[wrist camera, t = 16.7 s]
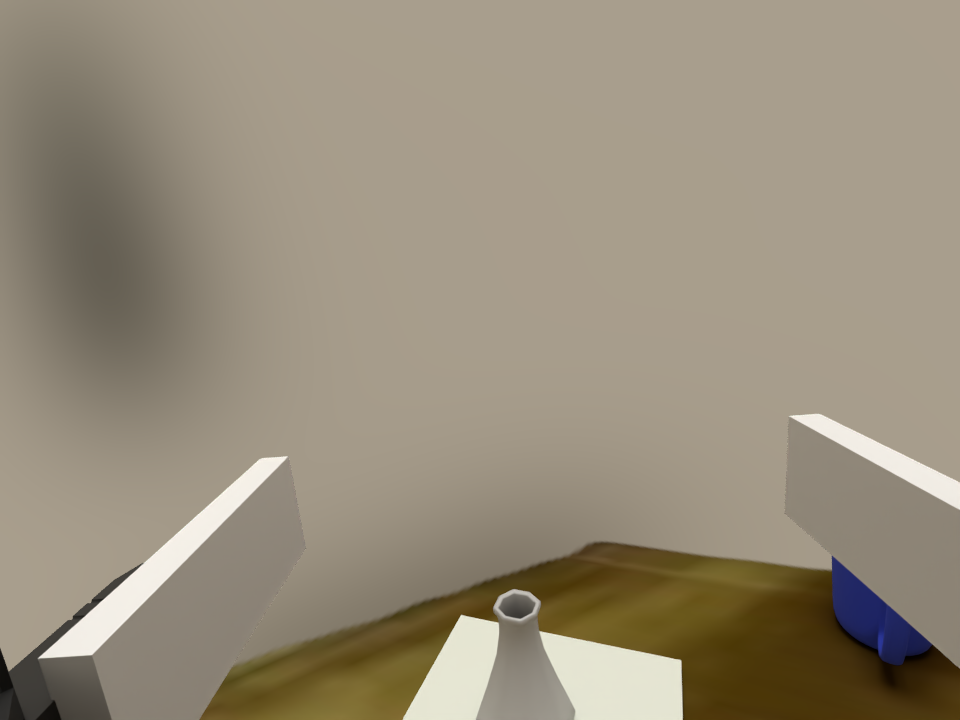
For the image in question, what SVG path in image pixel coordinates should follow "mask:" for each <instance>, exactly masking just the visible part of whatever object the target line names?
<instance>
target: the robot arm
mask: <svg viewBox="0 0 960 720" xmlns="http://www.w3.org/2000/svg"><path fill="white" fill-rule="evenodd" d="M787 449H788V450H787V472H786V495H785V514H786V515H787V516H788V517H789V518H790V519H792V520H793V521H794V522H795V523H796V524H797V525H798V526H799V527H801V528H802V529H803V530H804V531H805V532H806V533H807V534H809V535H810V536H811V537H812V538H813V539H814V540H815V541H817V542H818V543H819V544H820V545H821V546H822V547H823V548H824V549H825V550H827V551H828V552H829V553H830V554H831V555H832V556H833V557H834V558H836V559H837V560H838V561H839V562H840V563H841V564H842V565H843V566H845V567H846V568H847V569H848V570H849V571H850V572H851V573H853V574H854V575H855V576H856V577H857V578H858V579H859V580H860V581H862V582H863V583H864V584H865V585H866V586H867V587H868V588H869V589H871V590H872V591H873V592H874V593H875V594H876V595H877V596H878V597H880V598H881V599H882V600H883V601H884V602H885V603H886V604H888V605H889V606H890V607H891V608H892V609H893V610H894V611H895V612H897V613H898V614H899V615H900V616H901V617H902V618H903V619H904V620H906V621H907V622H908V623H909V624H910V625H911V626H912V627H913V628H915V629H916V630H917V631H918V632H919V633H920V634H921V635H922V636H924V637H925V638H926V639H927V640H928V641H929V642H930V643H932V644H933V645H934V646H935V647H936V648H937V649H938V650H939V651H941V652H942V653H943V654H944V655H945V656H946V657H947V658H948V659H950V660H951V661H952V662H953V663H954V664H955V665H956V666H957V667H959V668H960V482H957V481H955V480H954V479H951V478H949V477H947V476H945V475H943V474H941V473H939V472H937V471H935V470H933V469H931V468H929V467H927V466H925V465H923V464H921V463H919V462H917V461H915V460H913V459H911V458H909V457H907V456H905V455H903V454H900V453H898V452H896V451H894V450H892V449H890V448H888V447H886V446H884V445H882V444H880V443H878V442H876V441H874V440H872V439H870V438H868V437H866V436H864V435H862V434H860V433H858V432H856V431H854V430H852V429H849V428H847V427H845V426H843V425H841V424H839V423H837V422H835V421H833V420H831V419H829V418H827V417H825V416H823V415H821V414H810V415H798V416H789V424H788V448H787ZM305 549H306V546H305V541H304V536H303V530H302V525H301V520H300V515H299V509H298V504H297V498H296V493H295V489H294V483H293V477H292V472H291V467H290V462H289V457H288V456H287V457H274V458H262V459H260V460H259V461H258V462H256V463H255V464H254V465H253V466H252V467H251V468H250V469H248V470H247V472H245V473H244V474H243V475H242V476H241V477H240V478H238V479H237V480H236V481H235V482H234V483H233V484H232V485H231V486H230V487H228V488H227V489H226V490H225V491H224V492H223V493H222V494H221V495H220V496H218V497H217V498H216V499H215V500H214V501H213V502H212V503H211V504H210V505H208V506H207V507H206V508H205V509H204V510H203V511H202V512H201V513H199V515H197V516H196V517H195V518H194V519H193V520H192V521H191V522H189V523H188V524H187V525H186V526H185V527H184V528H183V529H182V530H180V531H179V533H177V534H176V535H175V536H174V537H173V538H172V539H170V540H169V541H168V542H167V543H166V544H165V545H164V546H163V547H162V548H161V549H159V550H158V551H157V552H156V553H155V554H154V555H153V556H152V557H151V558H150V559H148V560H147V561H146V562H145V563H142V564H140V565H139V566H137V567H135V568H134V569H132V570H130V571H129V572H127V573H125V574H124V575H122V576H120V577H119V578H117V579H115V580H114V581H113V582H111V583H110V584H109V585H108V586H107V587H106V588H105V589H103V590H102V591H101V592H100V593H99V594H98V595H97V596H95V597H94V598H93V599H92V602H91V603H88V604H86V605H85V606H84V607H83V608H82V609H80V610H79V611H78V612H77V613H76V614H75V615H74V616H73V619H72V620H68V621H67V622H65V623H64V624H63V625H62V626H61V627H60V628H59V629H57V630H56V631H55V632H54V633H53V634H52V635H51V636H49V637H48V638H47V639H46V640H45V641H44V642H43V643H41V644H40V645H39V646H38V647H37V648H36V649H34V650H33V651H32V652H31V653H30V654H29V655H28V656H27V657H25V658H24V659H23V660H22V661H21V662H20V663H19V664H17V665H16V666H15V667H14V668H13V669H12V670H10V671H9V672H8V669H7V666H6V664H5V660H4V658H3V655H2V652H1V649H0V720H199V719H200V717H201V716H202V714H203V712H204V711H205V709H206V708H207V706H208V704H209V703H210V701H211V700H212V698H213V696H214V695H215V693H216V692H217V690H218V688H219V687H220V685H221V683H222V682H223V680H224V679H225V677H226V675H227V674H228V672H229V671H230V669H231V667H232V666H233V664H234V663H235V661H236V659H237V658H238V656H239V655H240V653H241V651H242V650H243V648H244V646H245V645H246V643H247V642H248V640H249V639H250V637H251V635H252V633H253V632H254V631H255V629H256V627H257V626H258V624H259V622H260V621H261V619H262V618H263V616H264V615H265V613H266V611H267V610H268V608H269V606H270V605H271V603H272V602H273V600H274V598H275V597H276V595H277V594H278V592H279V590H280V589H281V587H282V586H283V584H284V582H285V581H286V579H287V578H288V576H289V574H290V573H291V571H292V570H293V568H294V566H295V565H296V563H297V561H298V560H299V558H300V557H301V555H302V554H303V552H304V550H305Z"/></svg>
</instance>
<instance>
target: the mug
mask: <svg viewBox="0 0 960 720" xmlns="http://www.w3.org/2000/svg"><path fill="white" fill-rule="evenodd" d="M832 582H833V607H834V611H835V615H836V617H837V619H838V621H839V623H840V624H841V626H842V627H843V628H844V629H845V630H846V631H847V632H848V633H849V634H850V635H851V636H853V637H854V638H856V639H857V640H859V641H860V642H862V643H864V644H865V645H868V646H870V647H872V648H874V649H877V650H878V651H879V656H880V658H881V659H882V660H883V661H884V662H887V663H889V664H893V665H902V664H903V662H904V659H905V656H914V655H918V654H921V653H924V652H925V651H927V650H928V649H929V648H930V647H931V646H932V643H930V642H929V641H928V640H927V639H926V638H925V637H924V636H922V635H921V634H920V633H919V632H918V631H917V630H916V629H915V628H913V627H912V626H911V625H910V624H909V623H908V622H907V621H906V620H904V619H903V618H902V617H901V616H900V615H899V614H898V613H897V612H895V611H894V610H893V609H892V608H891V607H890V606H889V605H888V604H886V603H885V602H884V601H883V600H882V599H881V598H880V597H878V596H877V595H876V594H875V593H874V592H873V591H872V590H871V589H869V588H868V587H867V586H866V585H865V584H864V583H863V582H862V581H860V580H859V579H858V578H857V577H856V576H855V575H854V574H853V573H851V572H850V571H849V570H848V569H847V568H846V567H845V566H843V565H842V564H841V563H840V562H839V561H838V560H837V559H836V558H834V557H833V556H832Z"/></svg>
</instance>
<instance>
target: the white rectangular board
mask: <svg viewBox="0 0 960 720" xmlns="http://www.w3.org/2000/svg"><path fill="white" fill-rule="evenodd" d="M539 632H540V631H539ZM540 636H541V639H542V643H543V646H544V649H545V651H546V653H547V655H548V658H549V660H550V662H551V664H552V666H553V668H554V670H555V672H556V674H557V676H558V678H559V680H560V682H561V684H562V686H563V688H564V689H565V691H566V693H567V695H568V697H569V699H570V701H571V703H572V705H573V707H574V709H575V715H574V720H683V709H682V672H681V660H677V659H672V658H667V657H662V656H657V655H652V654H648V653H643V652H638V651H633V650H628V649H623V648H618V647H613V646H609V645H604V644H599V643H594V642H589V641H584V640H579V639H574V638H570V637H565V636H560V635H555V634H550V633H545V632H540ZM498 639H499V623H496V622H492V621H487V620H482V619H477V618H472V617H467V616H462V615H461V616H460V618H459V620H458V622H457V623H456V625H455V627H454V629H453V631H452V632H451V634H450V636H449V638H448V639H447V641H446V643H445V645H444V647H443V648H442V650H441V652H440V654H439V656H438V657H437V659H436V661H435V663H434V664H433V666H432V668H431V670H430V672H429V673H428V675H427V677H426V679H425V681H424V682H423V684H422V686H421V688H420V689H419V691H418V693H417V695H416V697H415V698H414V700H413V702H412V704H411V706H410V707H409V709H408V711H407V713H406V714H405V716H404V718H403V720H476V717H477V714H478V711H479V708H480V705H481V702H482V699H483V696H484V693H485V691H486V688H487V685H488V681H489V678H490V674H491V671H492V668H493V664H494V661H495V658H496V654H497V647H498Z"/></svg>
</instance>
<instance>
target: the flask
mask: <svg viewBox="0 0 960 720" xmlns="http://www.w3.org/2000/svg"><path fill="white" fill-rule="evenodd" d="M540 607H541V602H540V601H539V600H538V599H537V598H536V597H535V596H534V595H532V594H531V593H530V592H526V591H521V590H516V589H513V590H511V591H509V592H507V593H504V594H502V595H500V596H499V598H498V600H497V601H496V603H495V605H494V607H493V611H494V614H495V615H496V616H497V617H498V619H499V639H498V647H497V654H496V658H495V661H494V664H493V668H492V671H491V674H490V678H489V681H488V685H487V688H486V691H485V693H484V696H483V699H482V702H481V705H480V708H479V711H478V714H477V717H476V720H574V715H575V709H574V707H573V705H572V703H571V701H570V699H569V697H568V695H567V693H566V691H565V689H564V688H563V686H562V684H561V682H560V680H559V678H558V676H557V674H556V672H555V670H554V668H553V666H552V664H551V662H550V660H549V658H548V655H547V653H546V651H545V649H544V646H543V643H542V639H541V636H540V632H539V628H538V619H537V615H538V612H539V610H540Z"/></svg>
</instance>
